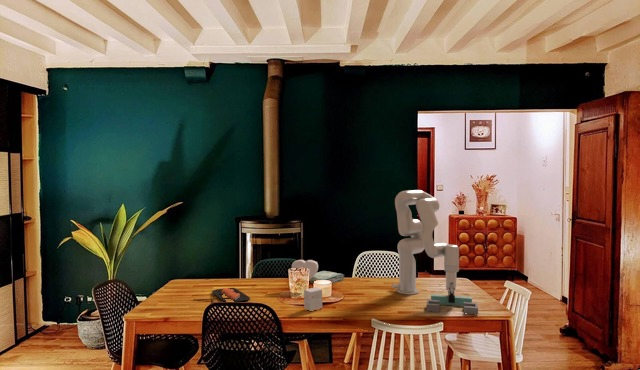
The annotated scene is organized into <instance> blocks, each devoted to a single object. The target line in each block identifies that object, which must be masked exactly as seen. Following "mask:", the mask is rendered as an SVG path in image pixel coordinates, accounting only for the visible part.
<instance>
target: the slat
mask: <svg viewBox="0 0 640 370" xmlns="http://www.w3.org/2000/svg"><path fill="white" fill-rule="evenodd" d="M430 300H440V305H442V306H443V305H444V306H445V305H446V306H458V307H459V306H460V307H464V302H470V303H473V297H472V296H463V295H462V296H460V295H459V296H458V295H455V303H449V302H448V294H447V295H443V294H430Z"/></svg>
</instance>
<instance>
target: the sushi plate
mask: <svg viewBox="0 0 640 370" xmlns="http://www.w3.org/2000/svg"><path fill="white" fill-rule="evenodd" d="M211 292H212V294H213V295H212V298H199V299H195V298H194V301H196V300H197V301H210V300H212V301H211V304H212V303H213V304H214V299H215V296H216V298H217V300H221V301H223V302H224V301H225V302H224V303H226V300H225V299H231V300H233V301H234V302H235V303H240V302H244V301H245V302H246V301H249V300H251V297H250V296H248V295H247V294H245V293H244V292H242V291H241V290H239V289H237V288H236V287H225V288H219V289H214V290H212V291H211ZM223 294H225V296H227V297H228V298H223V297H222V295H223Z"/></svg>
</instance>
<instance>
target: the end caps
mask: <svg viewBox="0 0 640 370" xmlns="http://www.w3.org/2000/svg"><path fill="white" fill-rule="evenodd" d="M440 305H441V304H440V300H431V299H426V306H425V307H426V308H425V309H426V310H425V311H426V312H427V311H432V312H431V313H440V309H441V307H440ZM463 313H467V314H466V315H469V314H478V315H479V306H478V303H477V302H472V303H470V302H464V306H463Z"/></svg>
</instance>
